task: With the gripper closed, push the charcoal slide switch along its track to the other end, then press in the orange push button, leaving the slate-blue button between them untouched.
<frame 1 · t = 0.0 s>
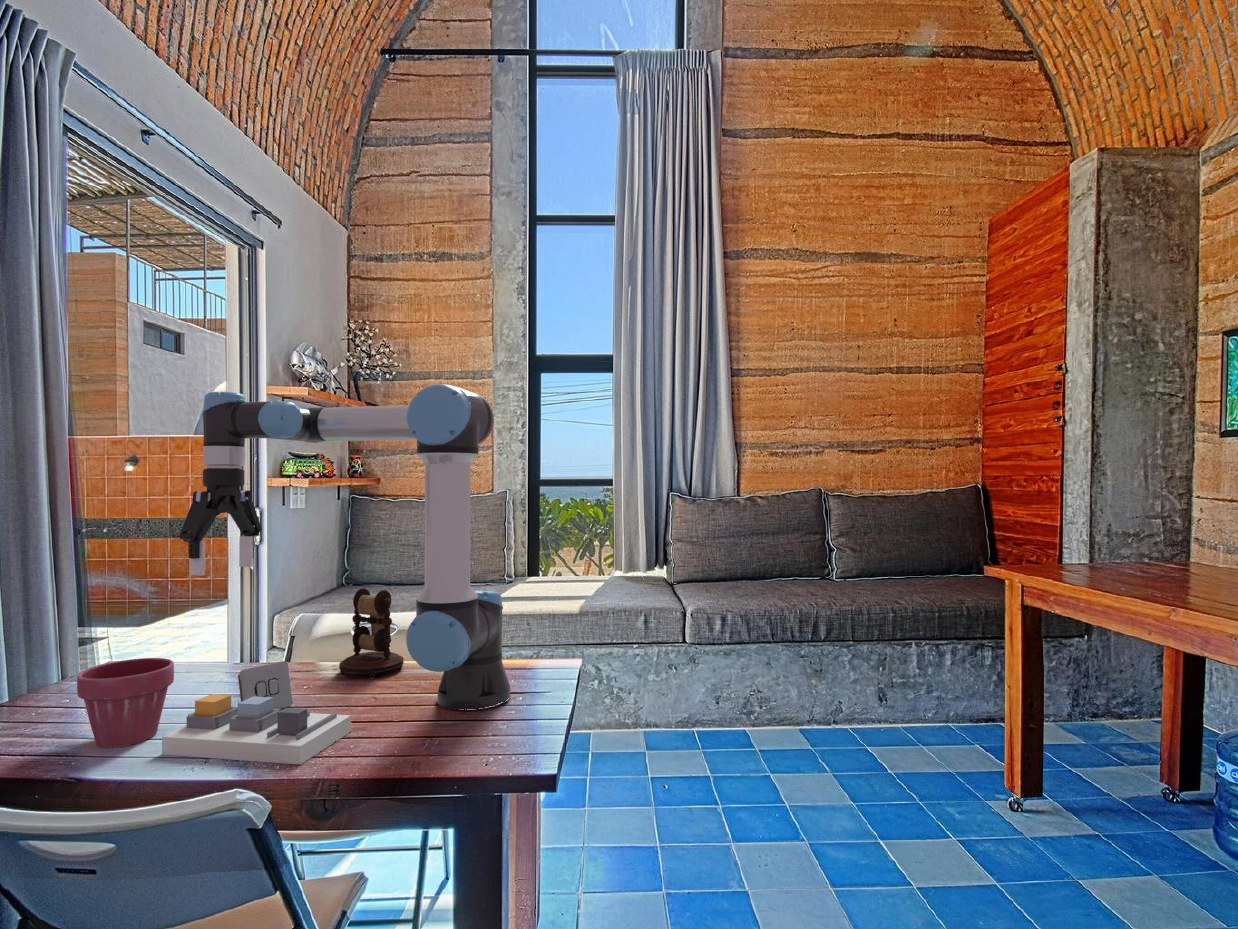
hand: (222, 571, 143), 28 cm above the table, tool pointing down, fingers open, 13 cm apart
grey button: (255, 707, 124), point 6 cm above the table, slide at 0.0 cm
slide switch: (292, 721, 119), point 5 cm above the table, slide at 0.0 cm
plant pot: (126, 739, 126), on the table
switch panel: (260, 742, 123), on the table
brown spool stand: (371, 672, 169), on the table
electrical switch: (263, 711, 141), on the table
orange button: (213, 705, 125), point 6 cm above the table, slide at 0.0 cm
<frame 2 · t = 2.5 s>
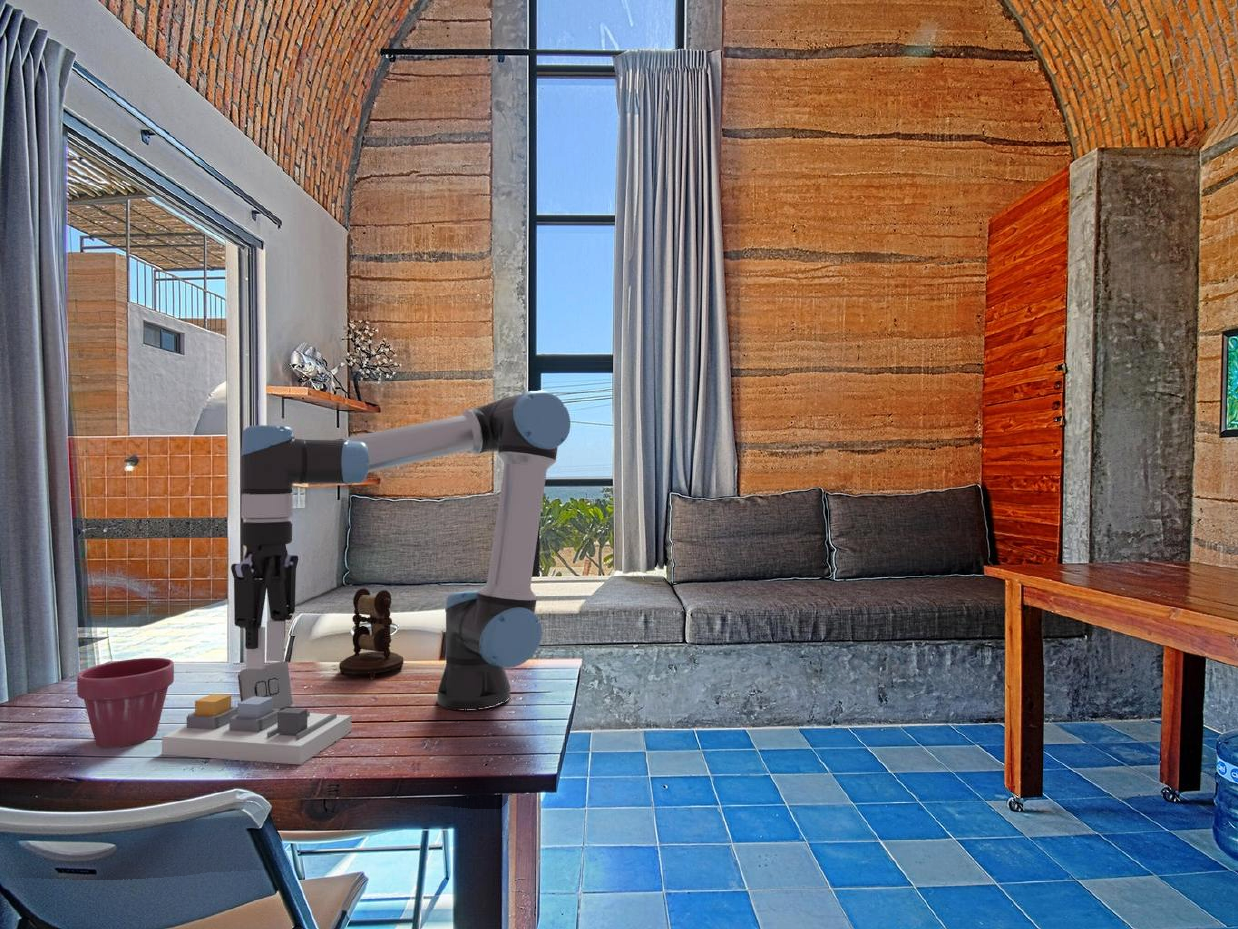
hand: (265, 664, 113), 17 cm above the table, tool pointing down, fingers open, 4 cm apart
nothing on the table moved.
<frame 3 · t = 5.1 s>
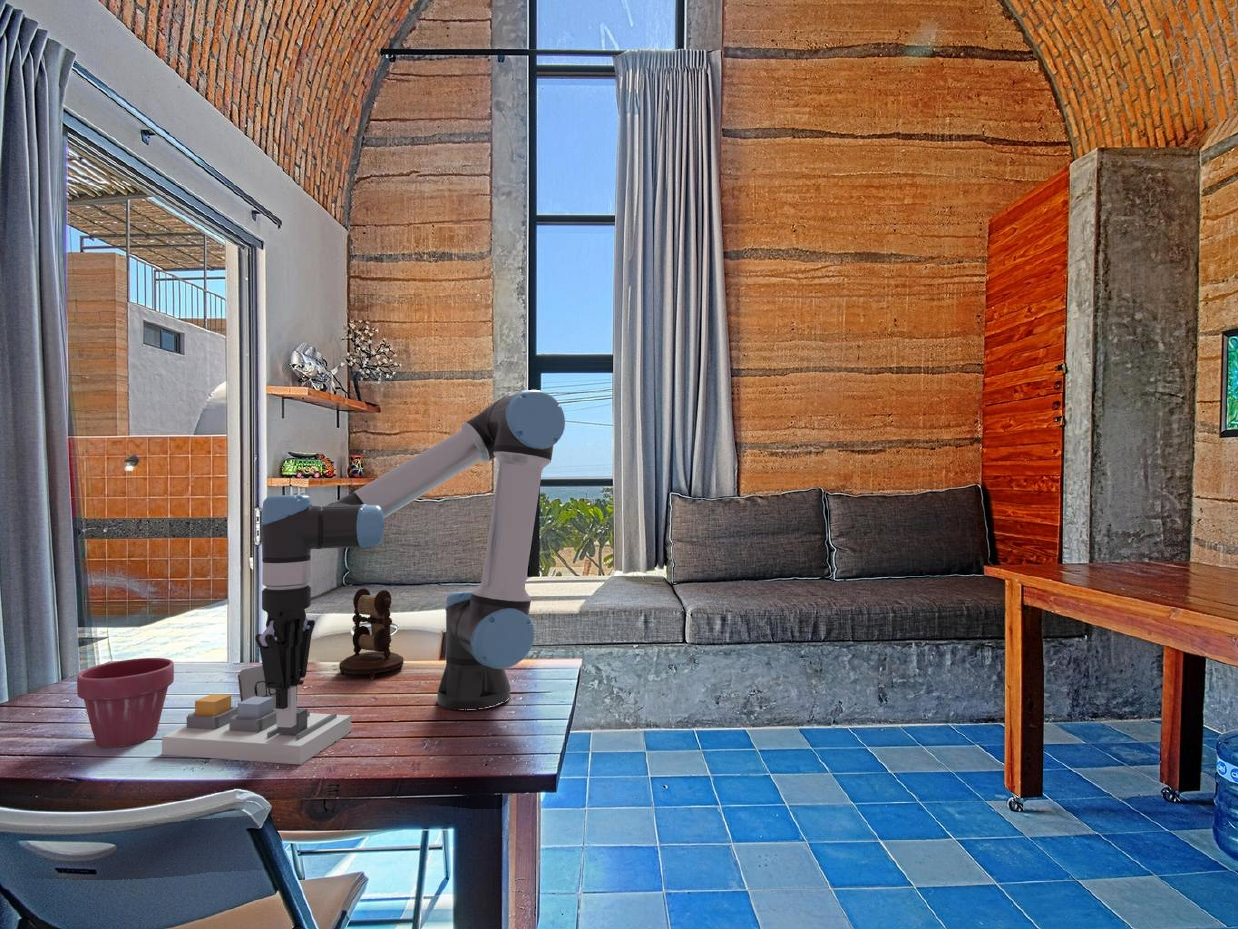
hand: (286, 725, 118), 5 cm above the table, tool pointing down, fingers closed
slide switch: (292, 721, 120), point 5 cm above the table, slide at 0.0 cm, touching gripper
everything else where it was.
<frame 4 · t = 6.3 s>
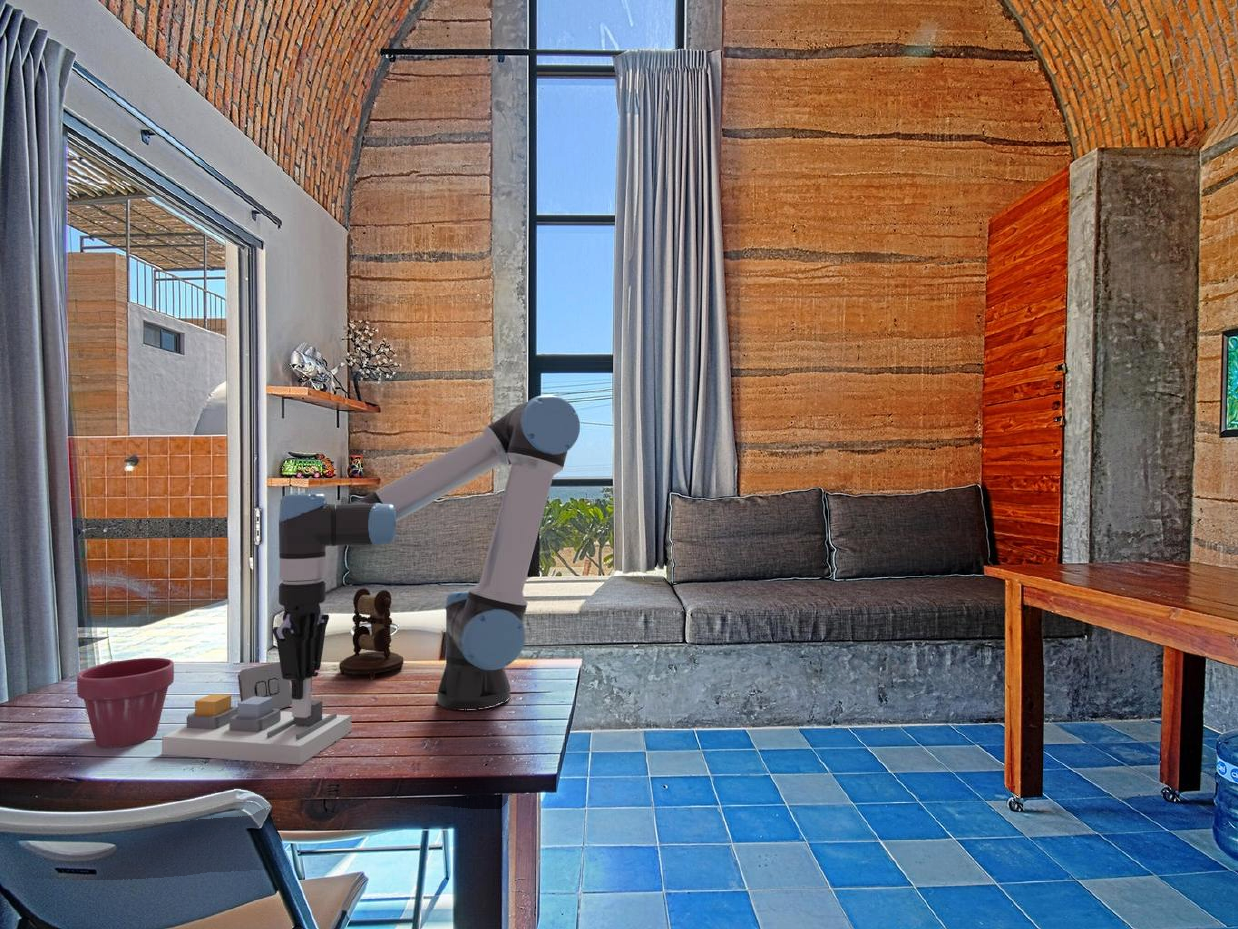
hand: (301, 715, 122), 5 cm above the table, tool pointing down, fingers closed
slide switch: (308, 712, 124), point 5 cm above the table, slide at 4.4 cm, touching gripper
everything else where it was.
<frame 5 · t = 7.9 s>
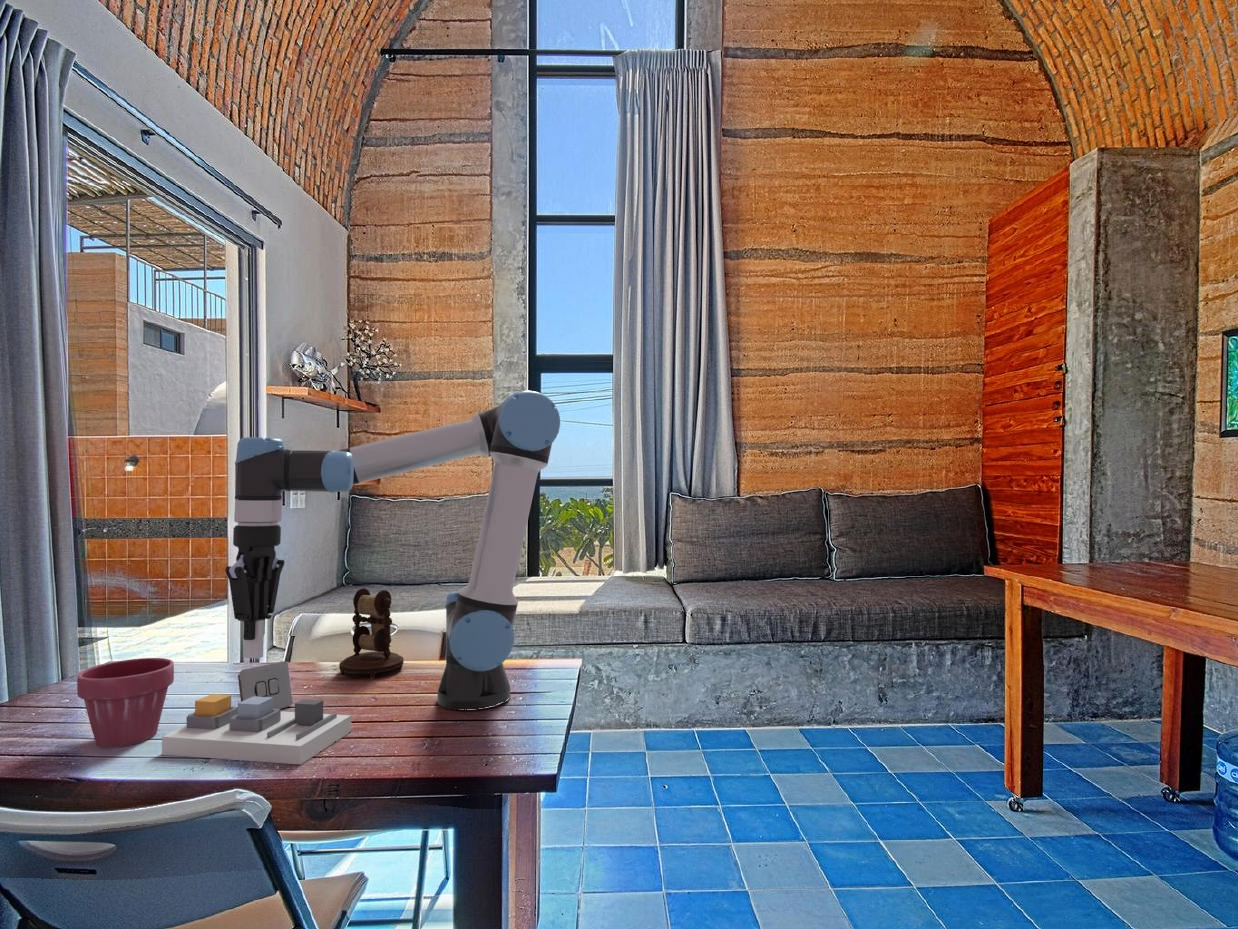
hand: (253, 657, 123), 15 cm above the table, tool pointing down, fingers closed
slide switch: (309, 712, 124), point 5 cm above the table, slide at 4.7 cm
everything else where it was.
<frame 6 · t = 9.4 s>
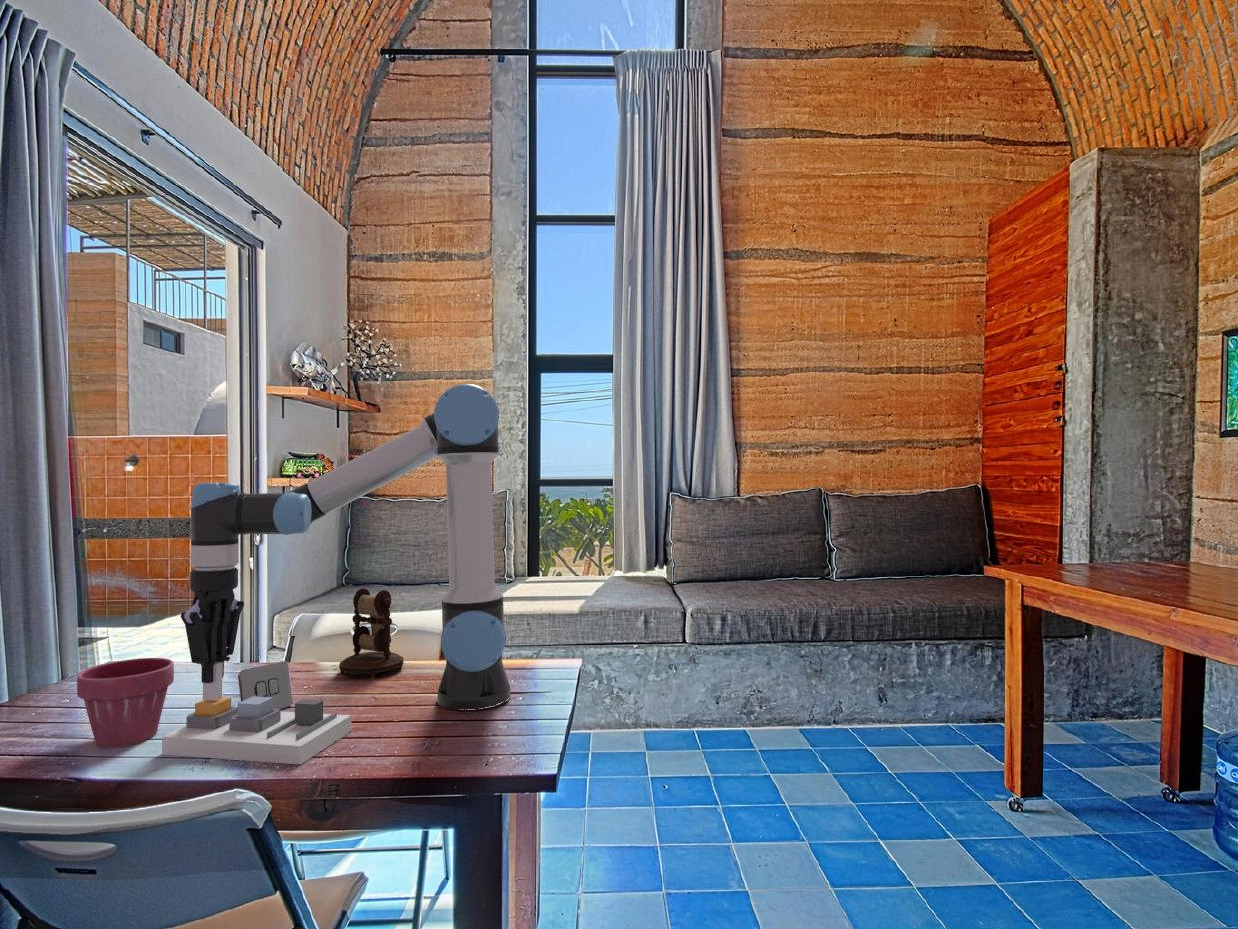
hand: (212, 699, 125), 7 cm above the table, tool pointing down, fingers closed
orange button: (213, 707, 125), point 6 cm above the table, slide at 0.5 cm, touching gripper
everything else where it was.
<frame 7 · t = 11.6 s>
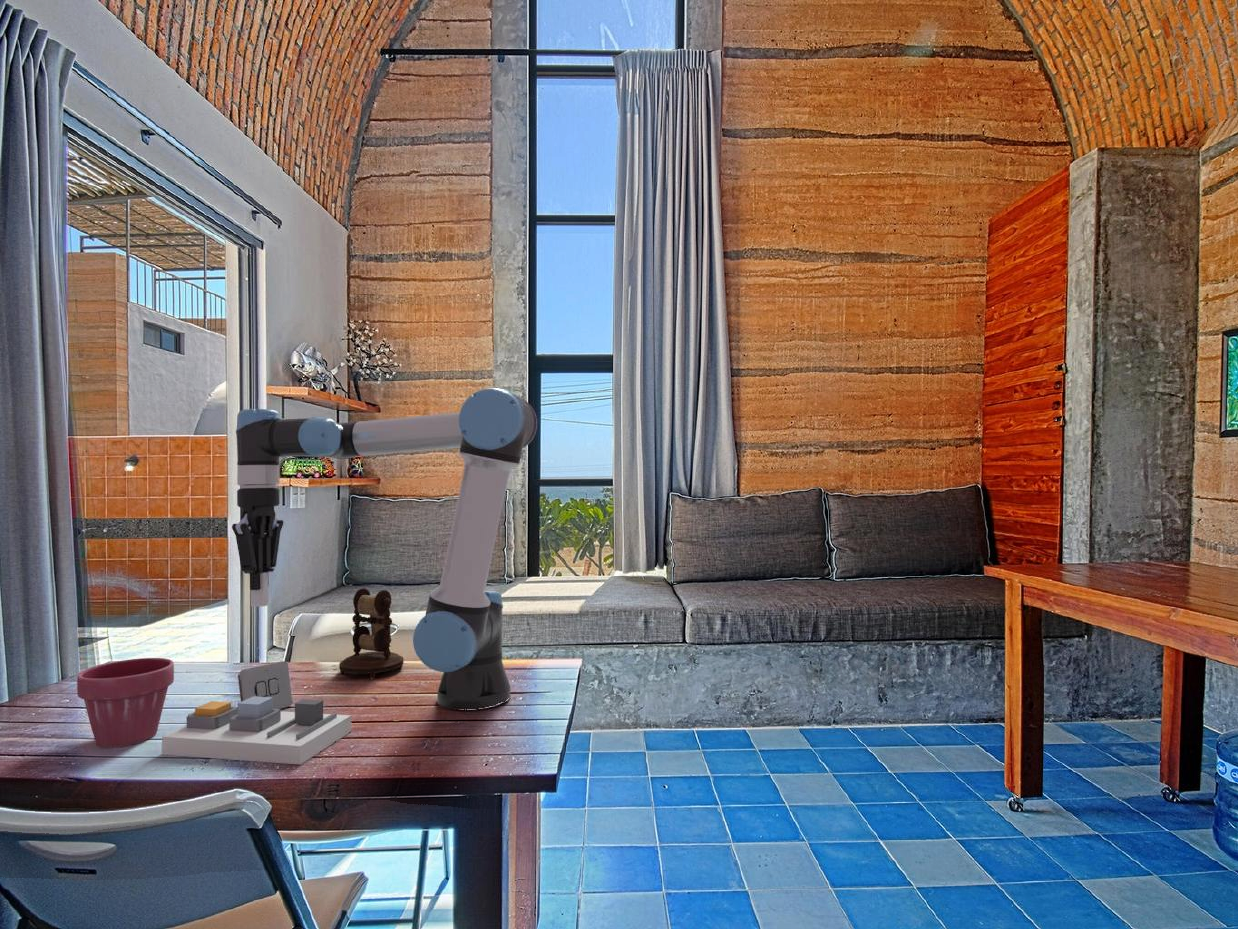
hand: (259, 605, 138), 22 cm above the table, tool pointing down, fingers closed
orange button: (213, 712, 125), point 5 cm above the table, slide at 1.3 cm
everything else where it was.
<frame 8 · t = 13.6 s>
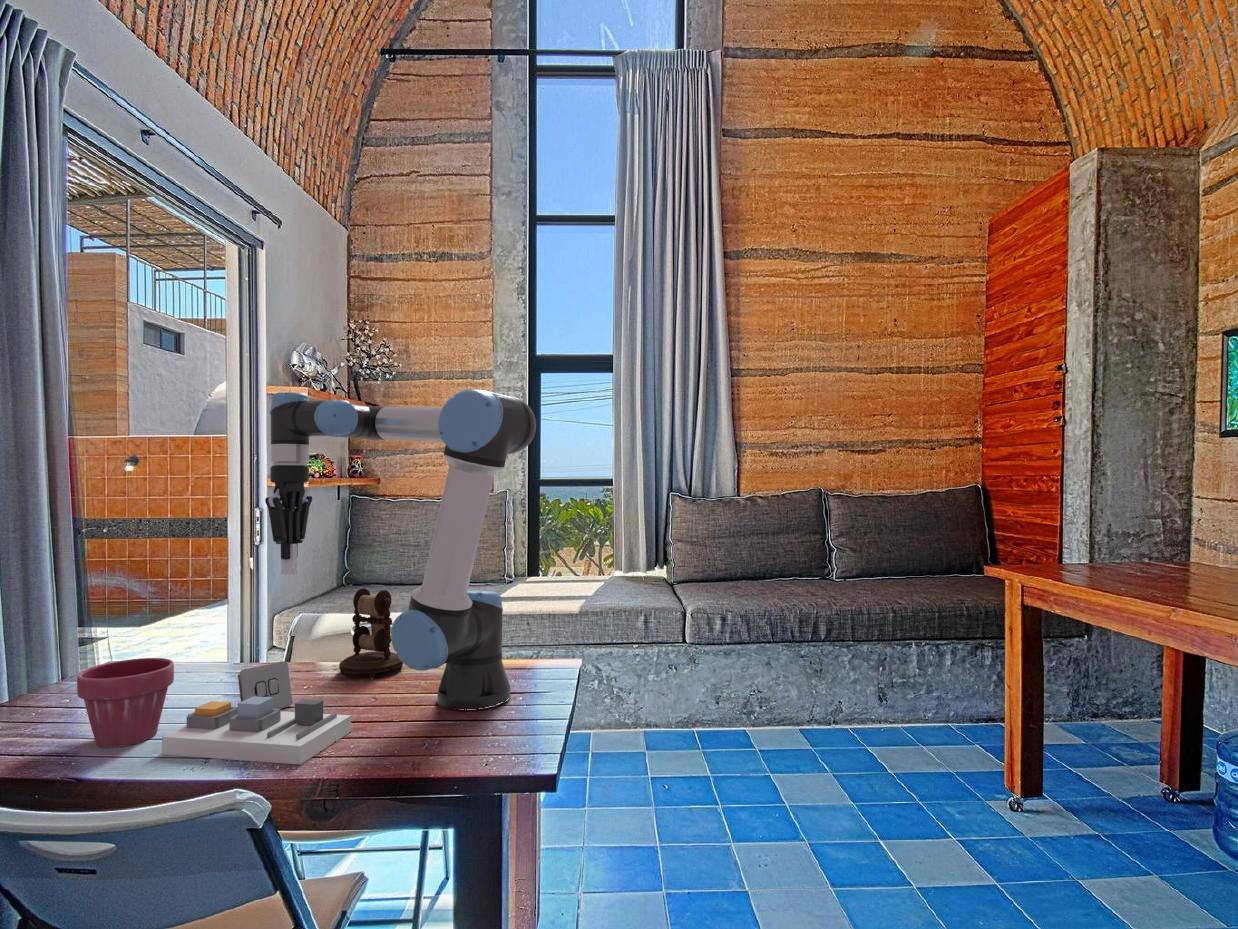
hand: (289, 574, 149), 26 cm above the table, tool pointing down, fingers closed
nothing on the table moved.
at the end: slide switch slide at 4.7 cm; orange button slide at 1.3 cm; grey button slide at 0.0 cm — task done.
